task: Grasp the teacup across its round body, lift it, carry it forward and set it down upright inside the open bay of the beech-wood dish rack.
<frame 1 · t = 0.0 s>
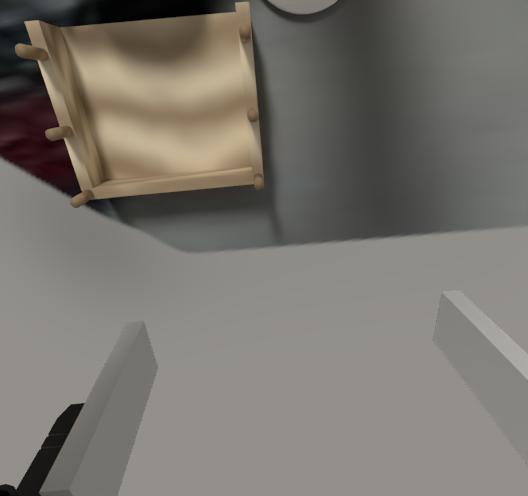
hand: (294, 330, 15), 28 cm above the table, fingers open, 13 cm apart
rack: (168, 109, 36), on the table
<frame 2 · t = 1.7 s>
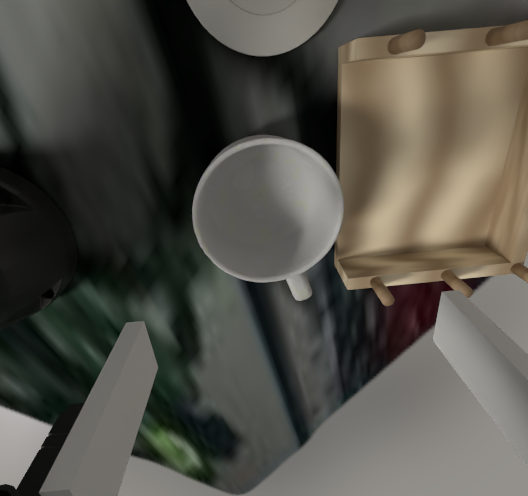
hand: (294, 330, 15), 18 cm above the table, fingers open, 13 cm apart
rack: (423, 163, 30), on the table
teacup: (267, 203, 31), on the table
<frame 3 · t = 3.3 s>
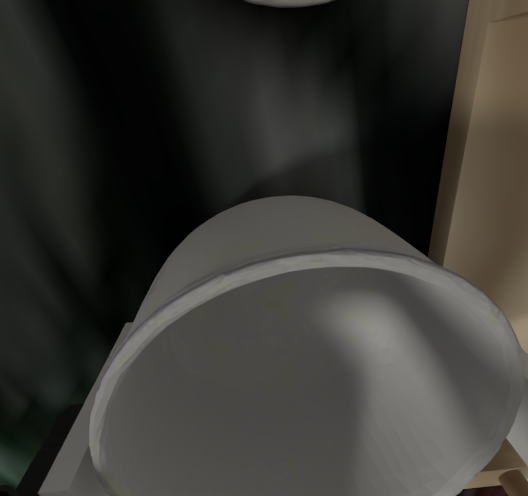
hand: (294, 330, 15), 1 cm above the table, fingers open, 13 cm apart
teacup: (288, 307, 16), on the table
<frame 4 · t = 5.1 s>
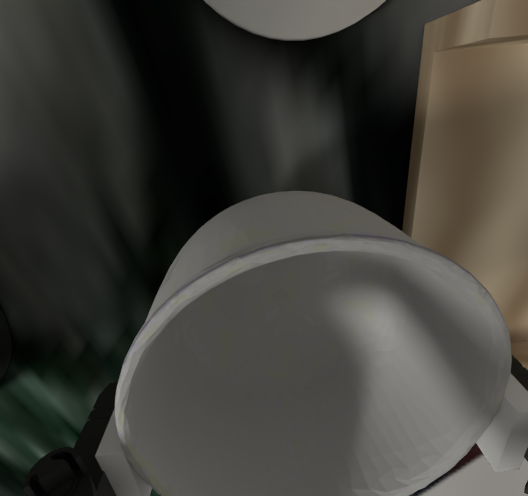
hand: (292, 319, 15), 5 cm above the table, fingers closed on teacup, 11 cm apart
teacup: (292, 299, 17), point 3 cm above the table, touching gripper
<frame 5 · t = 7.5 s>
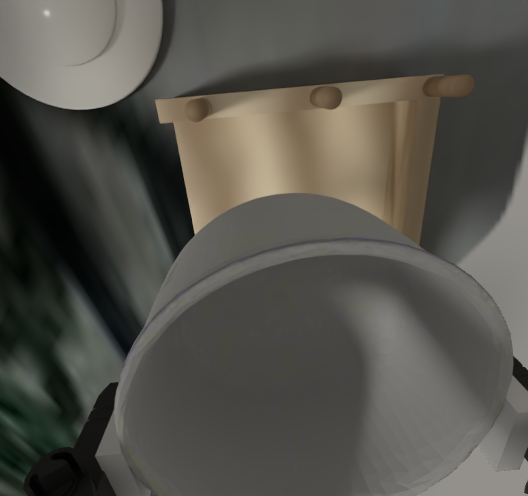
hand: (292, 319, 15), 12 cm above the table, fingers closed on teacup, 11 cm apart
rack: (295, 219, 26), on the table
teacup: (292, 301, 17), point 11 cm above the table, touching gripper
saucer: (64, 1, 20), on the table
when the fingers open (3 cm above the table, at t = 10.1 s): teacup stays where it is, resting on rack.
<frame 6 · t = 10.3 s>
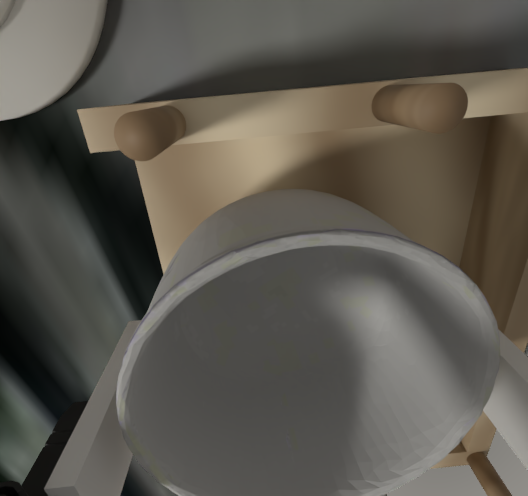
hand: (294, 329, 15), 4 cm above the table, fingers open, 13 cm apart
rack: (321, 282, 18), on the table
teacup: (290, 296, 17), point 1 cm above the table, touching rack
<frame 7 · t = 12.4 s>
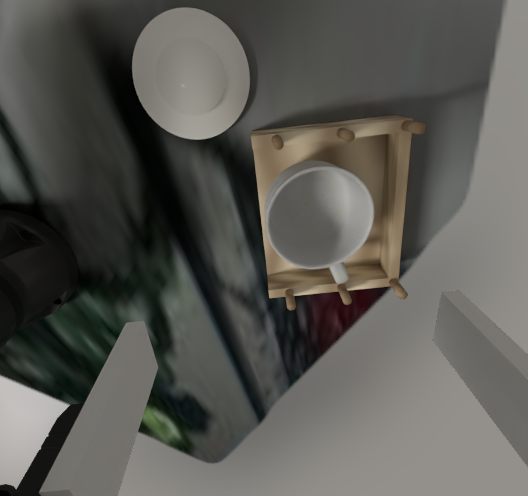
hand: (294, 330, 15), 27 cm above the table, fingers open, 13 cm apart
rack: (324, 205, 40), on the table
teacup: (310, 210, 40), point 1 cm above the table, touching rack
saucer: (193, 79, 34), on the table
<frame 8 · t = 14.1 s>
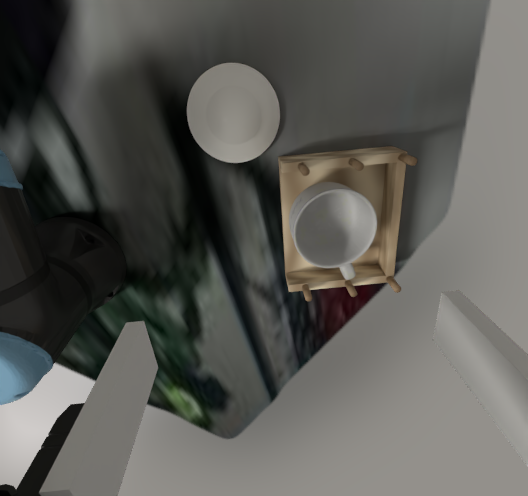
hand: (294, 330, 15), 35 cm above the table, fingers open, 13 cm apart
rack: (334, 216, 50), on the table
teacup: (323, 220, 49), point 1 cm above the table, touching rack
saucer: (234, 115, 43), on the table
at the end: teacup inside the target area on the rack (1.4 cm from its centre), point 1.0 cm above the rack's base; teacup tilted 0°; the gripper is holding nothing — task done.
